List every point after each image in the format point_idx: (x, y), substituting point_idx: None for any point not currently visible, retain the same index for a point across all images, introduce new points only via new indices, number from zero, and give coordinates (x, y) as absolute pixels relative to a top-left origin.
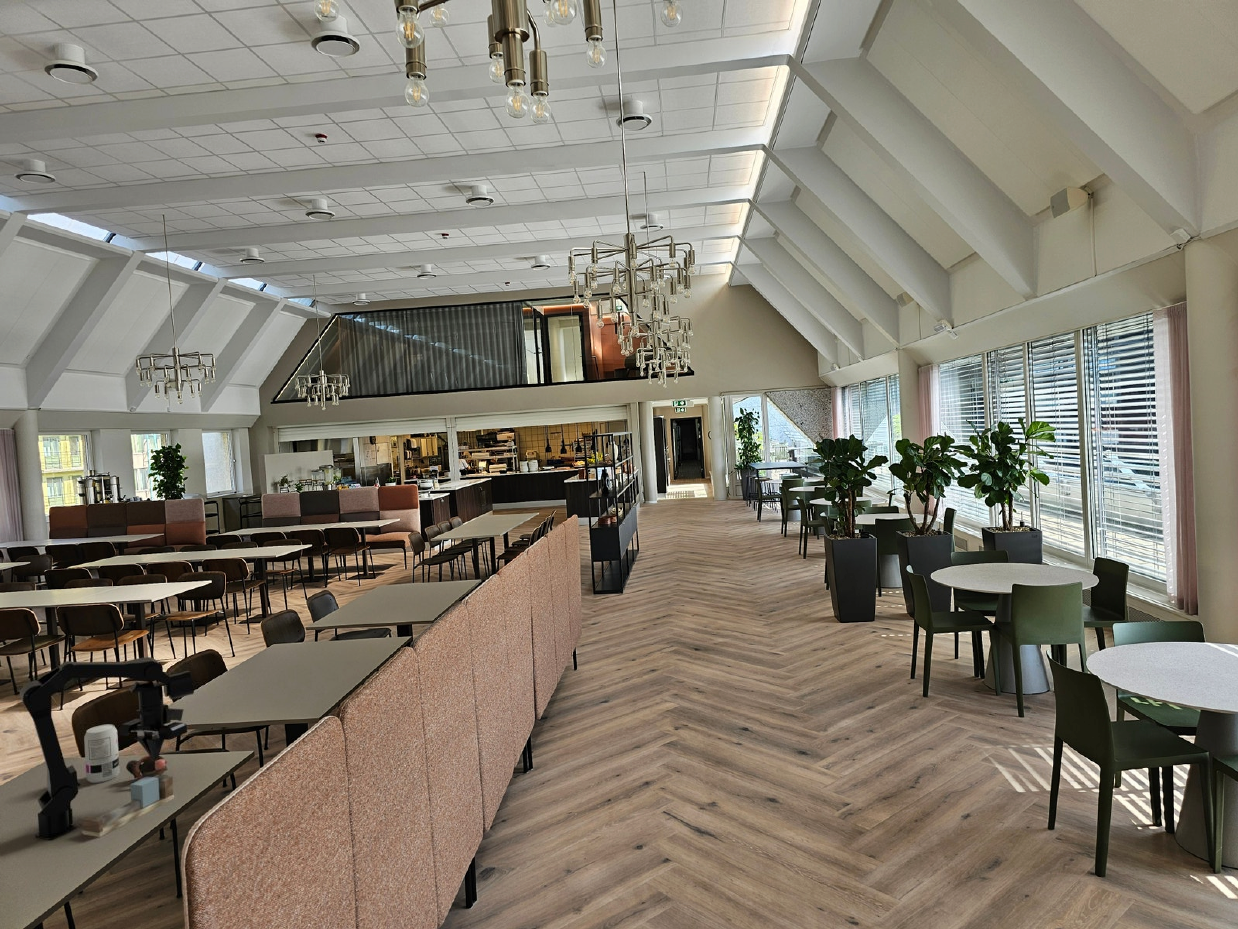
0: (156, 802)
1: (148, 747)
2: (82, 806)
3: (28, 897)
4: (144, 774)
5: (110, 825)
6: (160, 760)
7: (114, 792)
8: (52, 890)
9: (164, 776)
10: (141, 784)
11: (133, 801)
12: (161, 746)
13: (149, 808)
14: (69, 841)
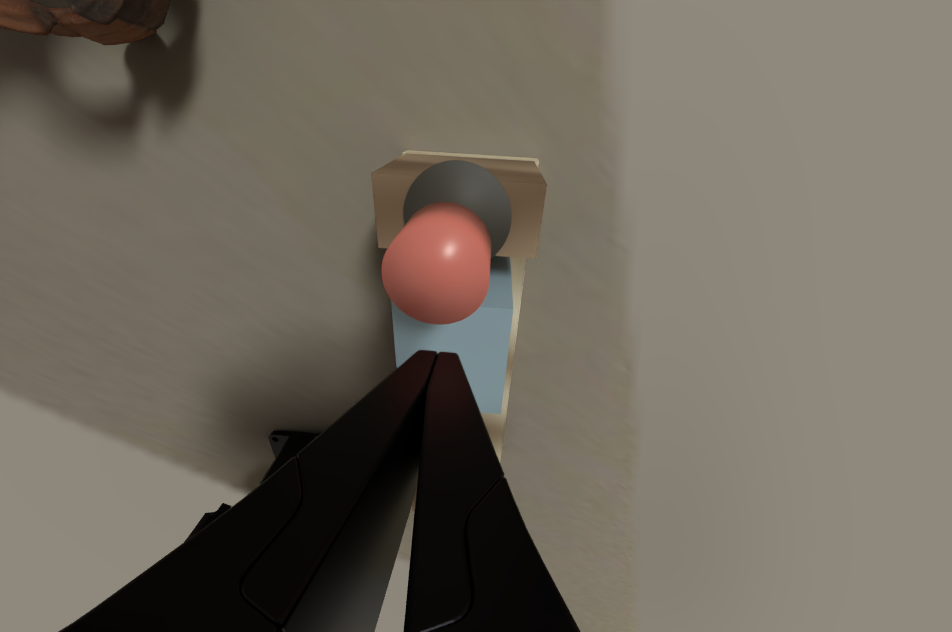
0: (512, 268)
1: (371, 618)
2: (160, 309)
3: None
4: (102, 21)
5: None
6: (428, 266)
7: (101, 151)
8: (596, 601)
9: (471, 196)
10: (479, 402)
11: None
12: (505, 489)
13: (518, 312)
14: None
